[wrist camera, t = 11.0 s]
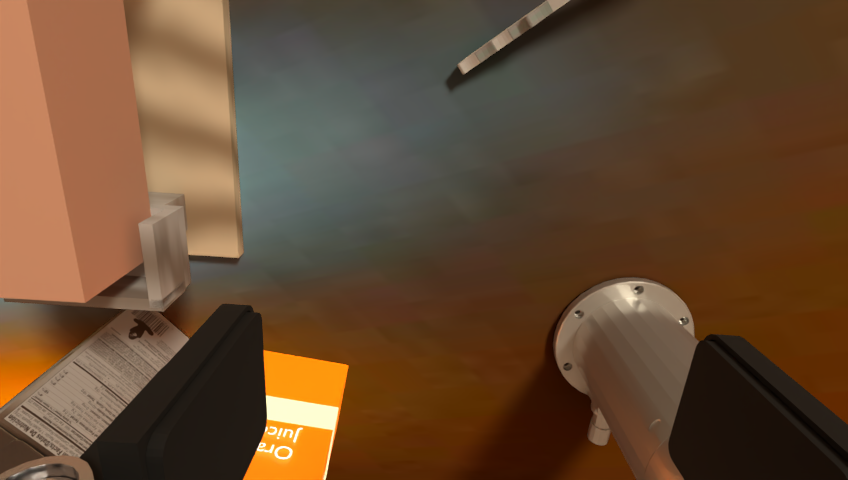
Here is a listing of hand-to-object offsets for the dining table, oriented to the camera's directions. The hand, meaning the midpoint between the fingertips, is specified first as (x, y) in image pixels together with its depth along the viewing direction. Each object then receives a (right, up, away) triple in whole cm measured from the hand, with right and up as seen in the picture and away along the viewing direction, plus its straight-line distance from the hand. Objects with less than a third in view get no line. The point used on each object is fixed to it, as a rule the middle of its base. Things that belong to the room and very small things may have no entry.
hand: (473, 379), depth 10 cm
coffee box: (-28, -7, +34) cm, 44 cm away
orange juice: (-13, -11, +36) cm, 40 cm away
